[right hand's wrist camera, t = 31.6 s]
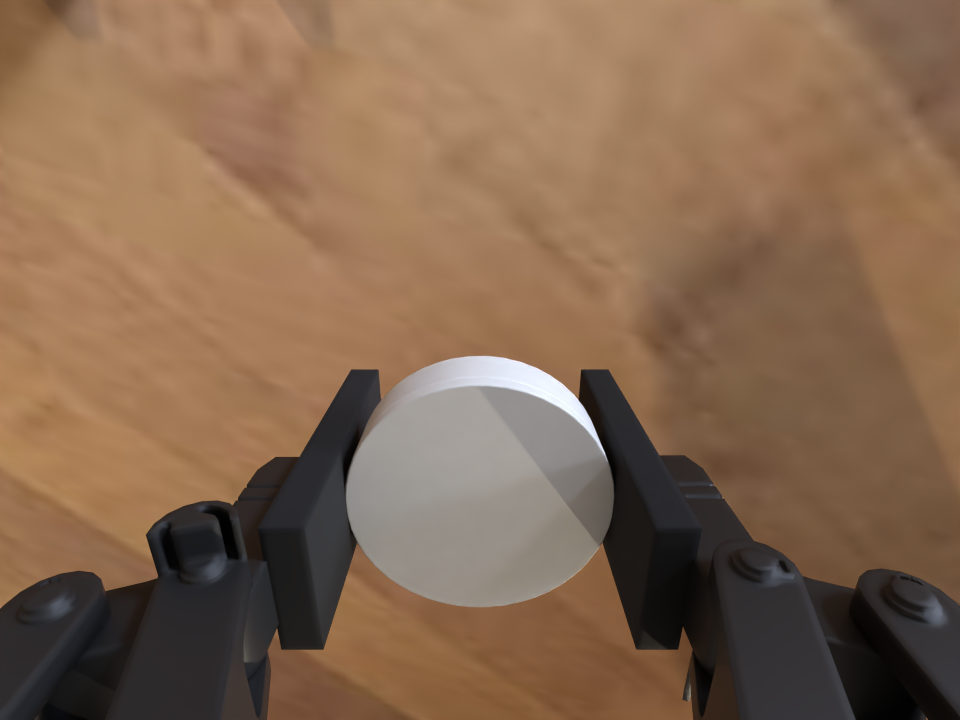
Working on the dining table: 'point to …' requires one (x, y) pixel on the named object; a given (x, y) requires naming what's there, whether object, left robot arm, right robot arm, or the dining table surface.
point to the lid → (479, 483)
